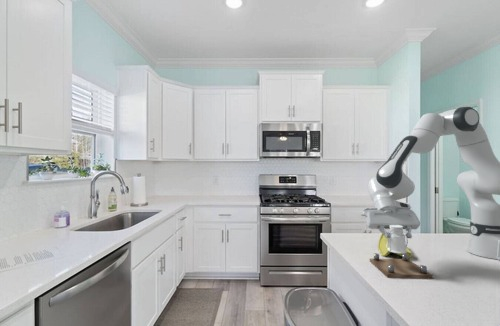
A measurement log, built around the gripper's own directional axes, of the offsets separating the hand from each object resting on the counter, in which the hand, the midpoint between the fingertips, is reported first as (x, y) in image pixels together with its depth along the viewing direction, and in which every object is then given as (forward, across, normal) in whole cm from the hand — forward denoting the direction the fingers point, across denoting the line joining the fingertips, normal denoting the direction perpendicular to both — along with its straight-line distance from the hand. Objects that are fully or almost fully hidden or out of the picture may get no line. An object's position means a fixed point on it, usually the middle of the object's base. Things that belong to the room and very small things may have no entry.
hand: (398, 237), depth 100 cm
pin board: (+9, 0, +9) cm, 13 cm away
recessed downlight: (+4, 0, +4) cm, 6 cm away
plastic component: (-6, +9, +25) cm, 27 cm away
